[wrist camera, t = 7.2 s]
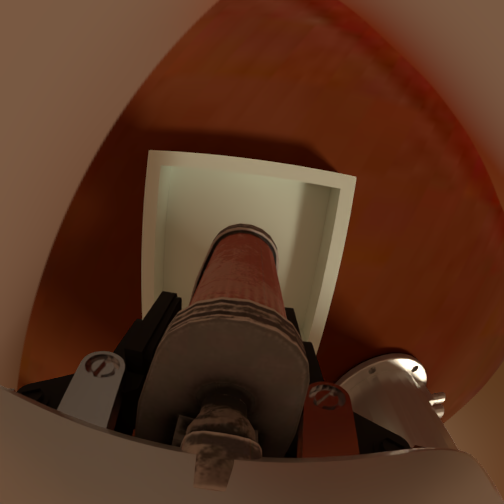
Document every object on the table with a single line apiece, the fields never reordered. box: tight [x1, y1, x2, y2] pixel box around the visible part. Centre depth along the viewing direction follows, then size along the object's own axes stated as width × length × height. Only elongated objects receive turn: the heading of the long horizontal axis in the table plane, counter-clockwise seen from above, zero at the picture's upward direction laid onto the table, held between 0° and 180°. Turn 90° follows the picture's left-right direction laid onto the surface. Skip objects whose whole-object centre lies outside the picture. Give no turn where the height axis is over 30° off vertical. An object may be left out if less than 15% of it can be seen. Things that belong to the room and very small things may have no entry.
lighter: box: [135, 223, 310, 492], centre depth 8 cm, size 8×3×10 cm, turn 165°
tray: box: [141, 150, 356, 354], centre depth 21 cm, size 14×14×4 cm
